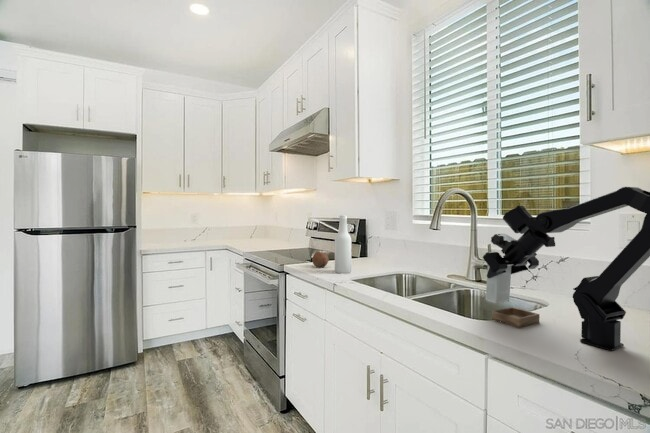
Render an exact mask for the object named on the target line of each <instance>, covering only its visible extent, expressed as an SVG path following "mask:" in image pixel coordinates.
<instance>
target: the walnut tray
mask: <svg viewBox="0 0 650 433" xmlns="http://www.w3.org/2000/svg"><path fill="white" fill-rule="evenodd" d="M491 320H492V321H495V322H498V323H501V322H502V323H501V324H504V325H507V324H508V325H507V326H510V325H511V327H514V328H517V329H521V328H526V327H530V326H533V325H535V324H540V314H539V313H536V312H532V311H529V310H525V309H521V308H517V307H514V306H510V307H505V308H502V309H497V310H492V311H491ZM500 321H501V322H500Z"/></svg>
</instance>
